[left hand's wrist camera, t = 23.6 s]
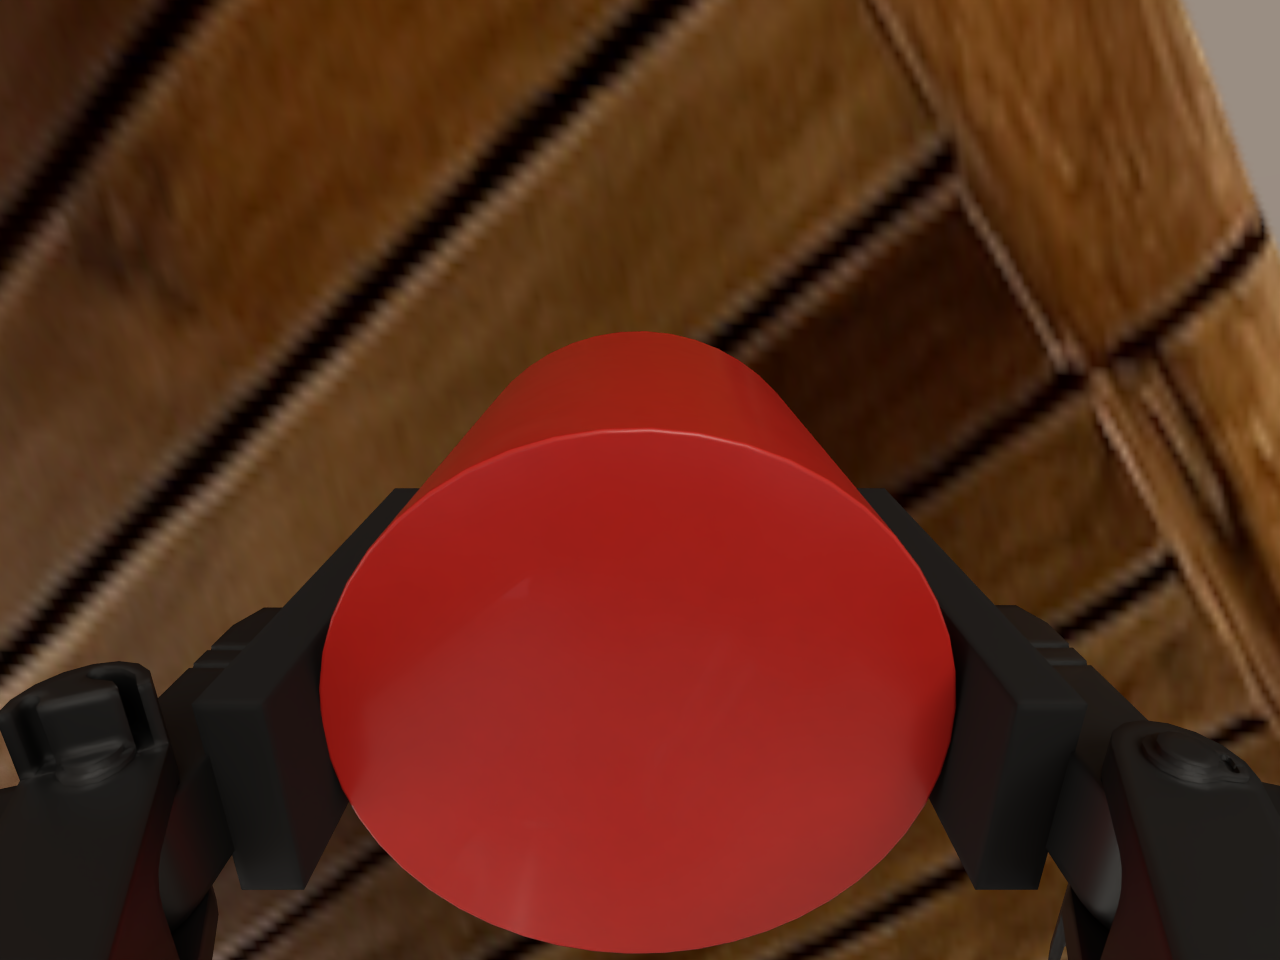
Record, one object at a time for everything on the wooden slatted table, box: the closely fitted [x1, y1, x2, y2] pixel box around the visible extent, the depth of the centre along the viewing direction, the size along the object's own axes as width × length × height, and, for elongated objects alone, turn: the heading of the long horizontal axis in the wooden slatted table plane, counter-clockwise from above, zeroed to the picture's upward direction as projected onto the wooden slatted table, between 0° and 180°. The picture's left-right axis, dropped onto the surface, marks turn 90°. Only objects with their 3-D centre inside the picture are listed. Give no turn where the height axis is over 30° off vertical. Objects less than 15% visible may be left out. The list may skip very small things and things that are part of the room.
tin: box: [319, 331, 956, 954], centre depth 12 cm, size 8×8×8 cm
